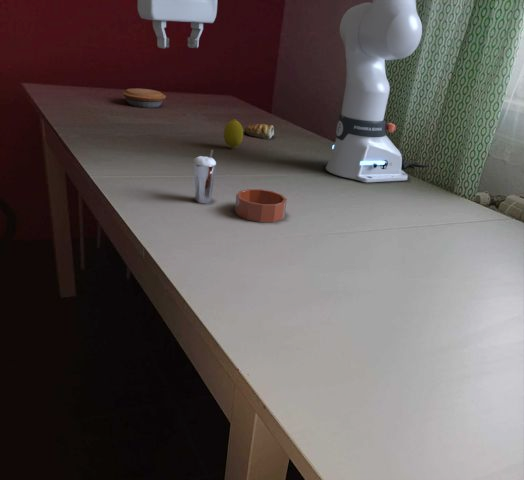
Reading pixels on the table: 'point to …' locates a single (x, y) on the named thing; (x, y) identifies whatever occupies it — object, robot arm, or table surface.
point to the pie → (144, 97)
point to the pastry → (260, 130)
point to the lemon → (233, 133)
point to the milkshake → (204, 178)
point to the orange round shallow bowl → (260, 205)
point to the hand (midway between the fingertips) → (178, 48)
